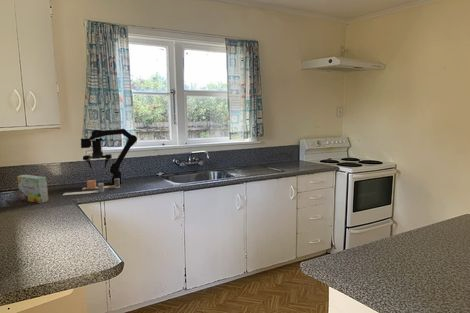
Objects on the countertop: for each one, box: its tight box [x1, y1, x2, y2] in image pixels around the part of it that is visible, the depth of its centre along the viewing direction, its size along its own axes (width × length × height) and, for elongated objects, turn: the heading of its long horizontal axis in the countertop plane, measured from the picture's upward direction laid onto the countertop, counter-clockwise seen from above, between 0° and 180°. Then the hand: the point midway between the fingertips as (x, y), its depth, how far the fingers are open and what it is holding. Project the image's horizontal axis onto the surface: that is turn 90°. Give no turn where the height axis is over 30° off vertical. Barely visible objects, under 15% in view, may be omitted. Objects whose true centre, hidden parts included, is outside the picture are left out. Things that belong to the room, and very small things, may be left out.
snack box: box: [16, 174, 50, 204], centre depth 199 cm, size 21×6×15 cm, turn 62°
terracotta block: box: [86, 179, 97, 190], centre depth 227 cm, size 5×5×5 cm
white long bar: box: [62, 182, 105, 196], centre depth 214 cm, size 24×6×6 cm, turn 105°
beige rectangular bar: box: [81, 178, 121, 191], centre depth 228 cm, size 24×6×6 cm, turn 105°
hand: (98, 168), depth 238 cm, fingers open, 9 cm apart
